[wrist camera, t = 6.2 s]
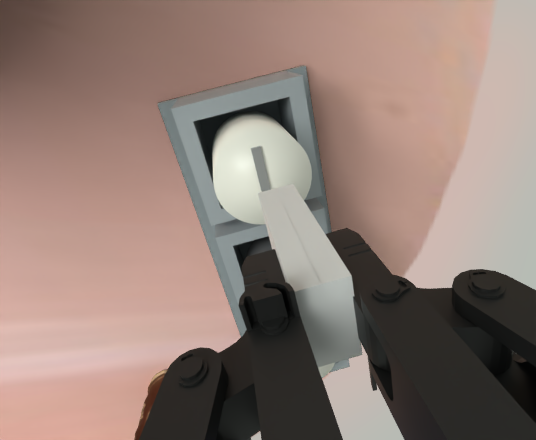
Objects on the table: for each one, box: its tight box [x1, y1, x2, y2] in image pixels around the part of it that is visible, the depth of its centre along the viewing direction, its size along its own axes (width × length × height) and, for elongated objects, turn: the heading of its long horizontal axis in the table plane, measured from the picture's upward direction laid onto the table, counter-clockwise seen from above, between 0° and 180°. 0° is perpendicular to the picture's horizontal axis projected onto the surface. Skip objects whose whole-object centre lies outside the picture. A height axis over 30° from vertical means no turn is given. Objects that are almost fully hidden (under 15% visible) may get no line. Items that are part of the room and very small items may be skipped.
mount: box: [158, 66, 349, 372], centre depth 29 cm, size 26×11×6 cm, turn 12°
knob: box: [212, 111, 312, 224], centre depth 20 cm, size 5×5×6 cm
